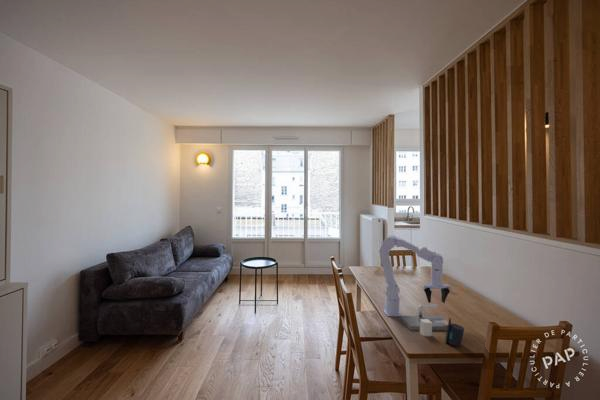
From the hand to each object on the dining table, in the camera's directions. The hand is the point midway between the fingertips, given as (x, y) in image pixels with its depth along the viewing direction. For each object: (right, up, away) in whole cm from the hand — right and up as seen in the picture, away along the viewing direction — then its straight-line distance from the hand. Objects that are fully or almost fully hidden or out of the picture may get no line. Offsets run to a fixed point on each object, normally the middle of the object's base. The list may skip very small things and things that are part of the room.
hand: (436, 302), depth 161 cm
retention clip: (-4, -8, +2) cm, 9 cm away
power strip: (-7, -10, -4) cm, 13 cm away
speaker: (-3, -11, -24) cm, 26 cm away
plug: (-12, -11, -15) cm, 22 cm away
